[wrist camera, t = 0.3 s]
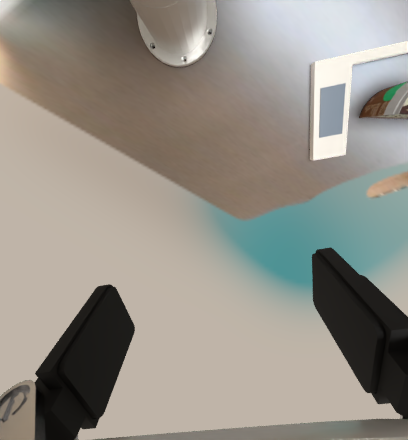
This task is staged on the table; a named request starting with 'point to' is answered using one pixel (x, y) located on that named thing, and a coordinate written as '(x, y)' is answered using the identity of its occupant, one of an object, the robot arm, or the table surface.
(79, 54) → the table surface
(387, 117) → the food container
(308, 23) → the table surface
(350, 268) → the robot arm
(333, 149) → the label board
